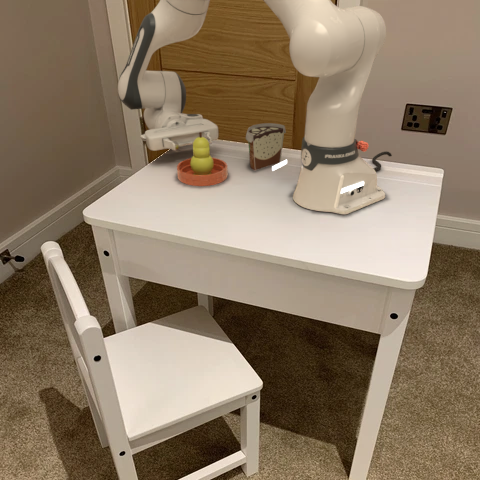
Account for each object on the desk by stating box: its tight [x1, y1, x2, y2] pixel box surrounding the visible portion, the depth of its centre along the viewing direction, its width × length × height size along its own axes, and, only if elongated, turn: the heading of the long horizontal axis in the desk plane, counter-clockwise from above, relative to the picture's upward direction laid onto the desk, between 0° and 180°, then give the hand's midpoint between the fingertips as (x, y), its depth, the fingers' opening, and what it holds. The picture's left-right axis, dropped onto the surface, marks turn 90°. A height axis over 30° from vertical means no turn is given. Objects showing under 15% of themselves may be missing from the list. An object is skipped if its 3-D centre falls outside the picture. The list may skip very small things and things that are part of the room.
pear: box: [190, 132, 214, 175], centre depth 126 cm, size 6×6×11 cm
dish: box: [176, 157, 229, 187], centre depth 128 cm, size 13×13×3 cm
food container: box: [245, 122, 287, 172], centre depth 134 cm, size 12×6×10 cm, turn 130°
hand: (192, 144), depth 129 cm, fingers open, 8 cm apart
